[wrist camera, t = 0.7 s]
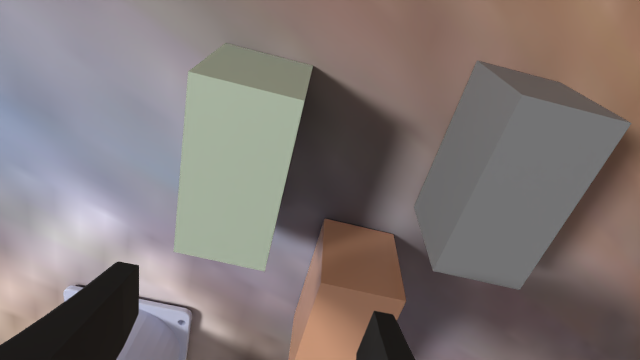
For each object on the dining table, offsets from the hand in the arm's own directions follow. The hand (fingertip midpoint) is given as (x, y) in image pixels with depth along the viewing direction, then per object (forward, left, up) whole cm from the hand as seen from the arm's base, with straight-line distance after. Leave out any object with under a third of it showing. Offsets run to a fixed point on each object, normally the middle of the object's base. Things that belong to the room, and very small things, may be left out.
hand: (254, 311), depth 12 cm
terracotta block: (-7, -5, -10) cm, 13 cm away
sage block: (+1, +2, -10) cm, 10 cm away
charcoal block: (+3, -9, -10) cm, 14 cm away
